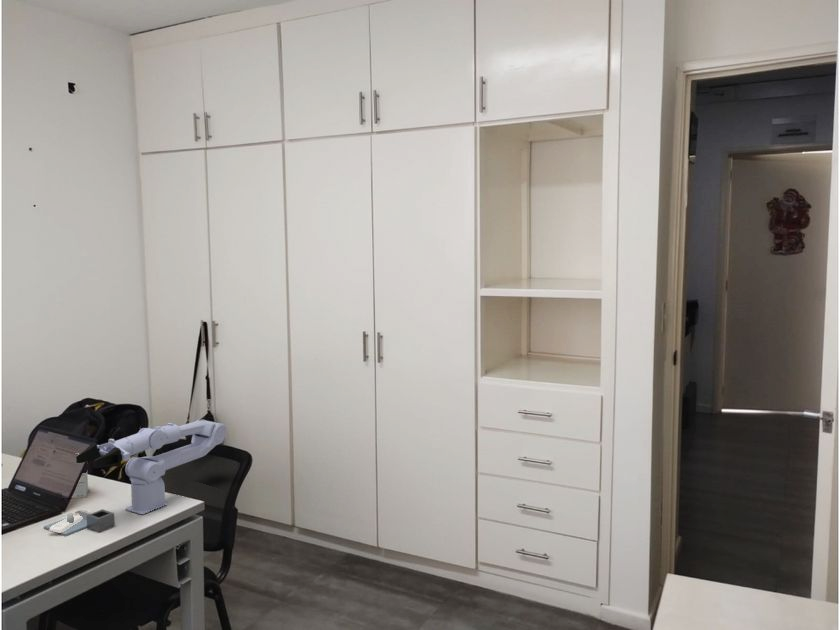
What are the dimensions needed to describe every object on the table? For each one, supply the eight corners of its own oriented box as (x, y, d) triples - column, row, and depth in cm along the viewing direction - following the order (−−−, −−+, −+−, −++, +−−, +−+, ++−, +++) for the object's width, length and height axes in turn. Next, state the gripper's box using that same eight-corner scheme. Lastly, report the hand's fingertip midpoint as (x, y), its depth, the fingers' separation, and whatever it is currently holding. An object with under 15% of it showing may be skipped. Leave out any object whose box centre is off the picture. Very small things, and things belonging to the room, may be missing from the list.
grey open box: (102, 522, 206) (102, 509, 206) (114, 526, 203) (114, 513, 203) (87, 528, 201) (86, 515, 201) (98, 532, 199) (98, 519, 198)
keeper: (77, 516, 210) (76, 504, 210) (98, 523, 205) (98, 511, 205) (43, 528, 201) (43, 516, 200) (65, 536, 196) (65, 524, 196)
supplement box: (63, 491, 229) (62, 454, 227) (88, 489, 232) (87, 452, 230) (60, 500, 222) (59, 461, 221) (86, 497, 225) (85, 459, 223)
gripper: (108, 430, 212) (67, 444, 200) (141, 438, 205) (101, 452, 193) (110, 453, 213) (70, 467, 201) (143, 461, 206) (103, 477, 194)
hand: (85, 462), depth 197 cm, fingers open, 7 cm apart
